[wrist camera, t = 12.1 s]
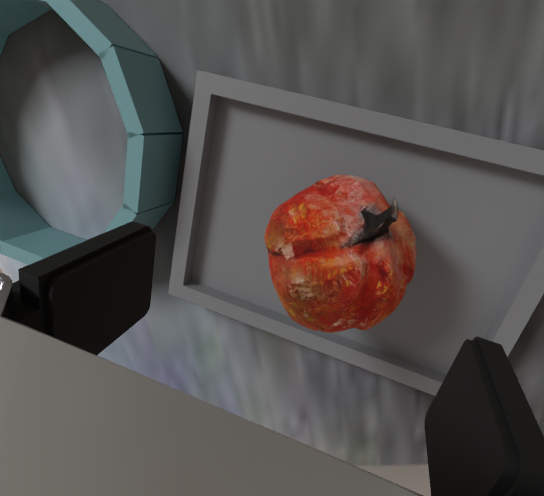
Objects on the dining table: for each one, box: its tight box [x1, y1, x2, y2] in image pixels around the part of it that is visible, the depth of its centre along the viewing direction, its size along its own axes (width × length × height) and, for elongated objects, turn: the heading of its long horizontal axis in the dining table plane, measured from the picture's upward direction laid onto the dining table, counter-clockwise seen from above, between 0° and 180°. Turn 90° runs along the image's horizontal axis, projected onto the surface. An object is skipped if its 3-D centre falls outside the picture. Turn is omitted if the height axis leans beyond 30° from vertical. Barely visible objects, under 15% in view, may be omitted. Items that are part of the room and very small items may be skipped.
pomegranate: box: [264, 174, 417, 333], centre depth 18 cm, size 7×7×10 cm
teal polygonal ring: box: [0, 0, 183, 265], centre depth 24 cm, size 17×17×4 cm
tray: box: [168, 70, 544, 396], centre depth 21 cm, size 14×20×2 cm
